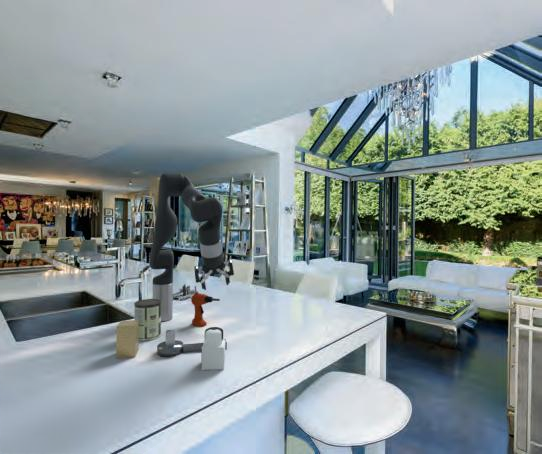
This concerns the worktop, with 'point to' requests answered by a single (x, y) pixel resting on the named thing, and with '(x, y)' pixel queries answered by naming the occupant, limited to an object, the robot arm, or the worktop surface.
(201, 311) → the toy drill
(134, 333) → the brushed brass block
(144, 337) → the coffee can
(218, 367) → the medicine bottle
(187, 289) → the grey toy warship
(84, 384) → the worktop surface
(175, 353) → the ratchet
